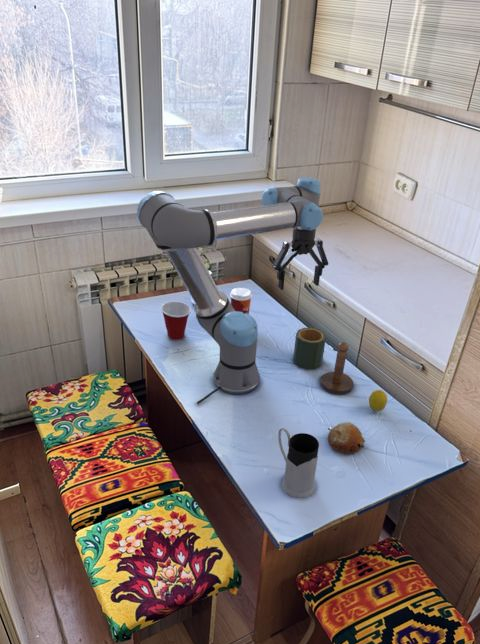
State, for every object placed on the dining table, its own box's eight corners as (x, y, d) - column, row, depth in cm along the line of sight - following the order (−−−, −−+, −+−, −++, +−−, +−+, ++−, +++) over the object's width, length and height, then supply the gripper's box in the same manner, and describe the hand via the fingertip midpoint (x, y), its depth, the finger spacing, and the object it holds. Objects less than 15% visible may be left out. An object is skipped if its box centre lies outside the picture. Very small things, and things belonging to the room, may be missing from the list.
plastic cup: (187, 345, 202) (186, 316, 196) (158, 341, 203) (156, 312, 197) (194, 330, 211) (194, 302, 205) (167, 326, 212) (166, 298, 206)
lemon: (371, 417, 175) (375, 397, 171) (364, 406, 179) (368, 386, 175) (387, 415, 176) (392, 395, 172) (379, 404, 181) (384, 384, 176)
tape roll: (317, 372, 194) (320, 345, 188) (289, 364, 196) (292, 338, 190) (324, 357, 202) (328, 331, 196) (298, 350, 204) (301, 325, 198)
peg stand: (348, 398, 182) (356, 355, 173) (316, 389, 185) (322, 346, 176) (356, 380, 191) (364, 338, 182) (325, 371, 194) (331, 330, 185)
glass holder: (295, 502, 144) (301, 460, 136) (263, 468, 153) (267, 427, 145) (321, 488, 149) (328, 446, 140) (288, 456, 158) (293, 415, 150)
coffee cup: (247, 333, 212) (249, 298, 204) (226, 330, 213) (227, 295, 205) (252, 322, 219) (254, 288, 211) (231, 319, 220) (233, 285, 212)
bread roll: (343, 438, 171) (337, 415, 169) (372, 442, 164) (366, 418, 162) (325, 455, 164) (319, 431, 162) (355, 459, 157) (348, 434, 155)
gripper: (332, 221, 192) (325, 278, 202) (265, 225, 183) (261, 285, 193) (343, 227, 186) (335, 286, 196) (274, 232, 177) (269, 294, 187)
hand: (298, 286), depth 195 cm, fingers open, 13 cm apart
